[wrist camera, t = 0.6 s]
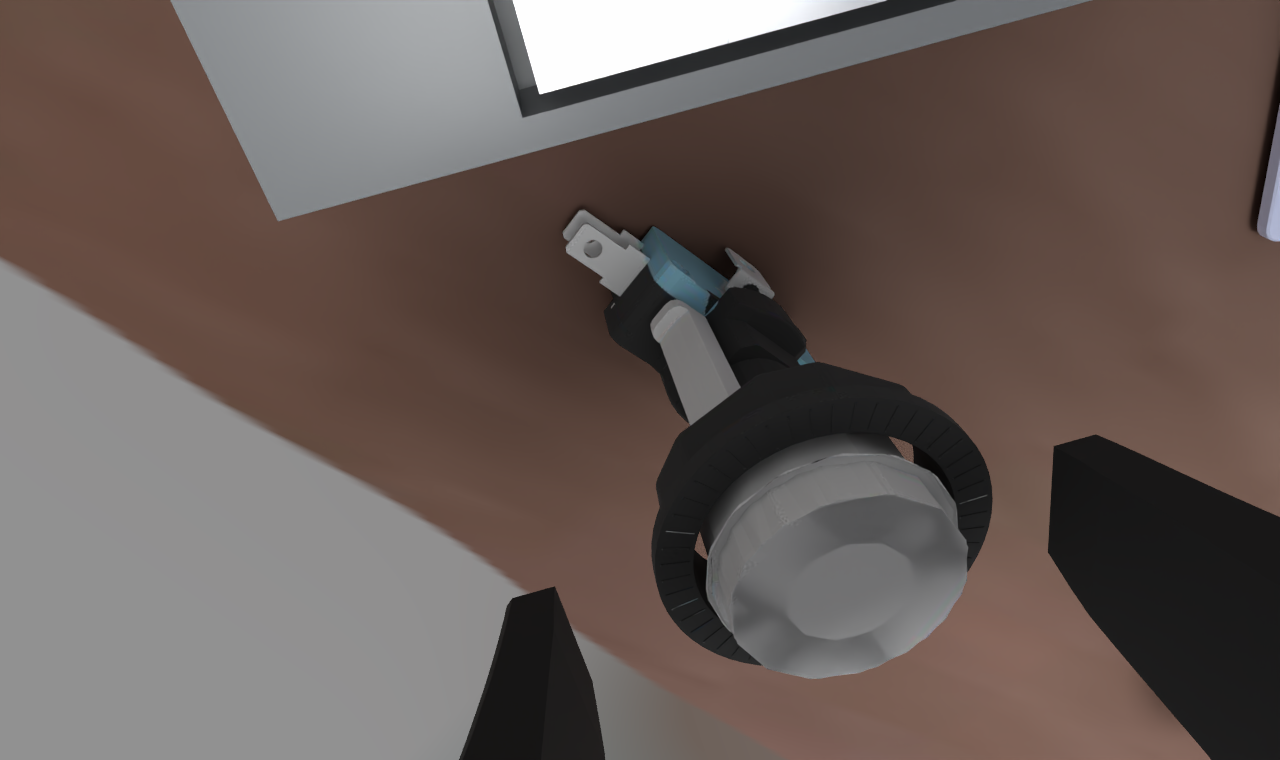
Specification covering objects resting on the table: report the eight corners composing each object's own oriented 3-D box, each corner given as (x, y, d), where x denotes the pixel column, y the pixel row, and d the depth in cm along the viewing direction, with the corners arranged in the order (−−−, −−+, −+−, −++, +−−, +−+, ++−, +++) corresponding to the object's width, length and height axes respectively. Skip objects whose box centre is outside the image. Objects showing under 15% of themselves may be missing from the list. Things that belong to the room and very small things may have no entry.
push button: (505, 298, 19) (509, 609, 11) (644, 113, 18) (778, 308, 9) (711, 426, 22) (845, 754, 14) (848, 277, 20) (1098, 544, 12)
